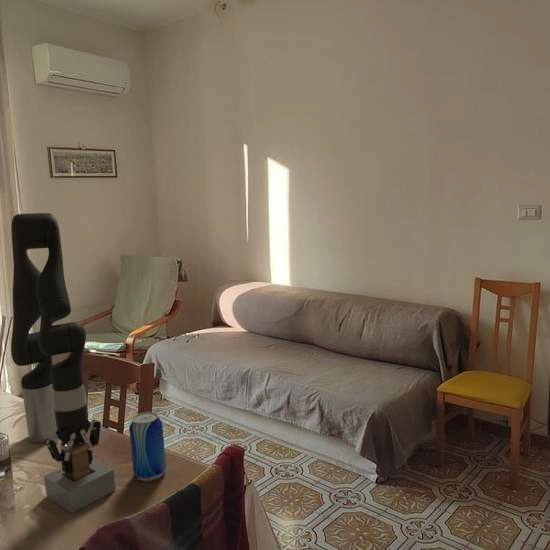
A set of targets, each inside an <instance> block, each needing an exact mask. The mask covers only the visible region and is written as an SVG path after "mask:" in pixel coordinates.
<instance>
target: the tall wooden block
mask: <svg viewBox="0 0 550 550" xmlns="http://www.w3.org/2000/svg"><path fill="white" fill-rule="evenodd" d="M60 445H61V443H59V446H60ZM88 449H90V445H89V444H87V443H84V442H78V443H76V444H75V445H73V447H72V450H71V452H70V456H69V459H70V463H71V471H72V473H71V474H67V478H68V479H70V480H71V481H73V482H75V481H77V480H79V479H82V478H84V477H86V476H88V475H90V467H89V460H88V452H87V450H88Z"/></svg>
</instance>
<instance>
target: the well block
mask: <svg viewBox="0 0 550 550" xmlns="http://www.w3.org/2000/svg"><path fill="white" fill-rule="evenodd" d="M89 467H90V475H88V476H86V477H84V478H82V479H79V480H77V481H75V482H73V481H71V480H70V479H68V478H67V473H65V472H64V471H63V470H62V467H60V468H58V469H55V470H53V471H51V472H50V473H47V474H45V475H44V476H43V478H44V479H43V480H44V485H45V494H46V497H47V498H48V499H50V500H51V501H53V503H56V504H57V505H59V506H60V507H61V508H63V509H64V510H66V511H67V512H69V513H70V514H73V513H75V512H77V511H78V510H81V509H83V508H84V507H86V506H88V505H90V504H92V503H94V502H96V501H98V500H99V499H102V498H104V497H105V496H107V495H109V494H112V493H113V492H114V491H116V482H115V473H114V469H113V468H111V467H109V466H107V465H105V464H103V463H101V462H100V461H98V460H96V459H94V458H93V460H92V461H91V464H90V465H89Z"/></svg>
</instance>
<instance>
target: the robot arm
mask: <svg viewBox="0 0 550 550" xmlns="http://www.w3.org/2000/svg"><path fill="white" fill-rule="evenodd" d="M10 228H11V230H10V231H11V244H12V245H11V246H12V258H13V259H12V260H13V275H12V278H13V279H12V316H13V321H12V332H11V339H10V340H11V341H10V354H11V358H12V359H11V360H12V361H13V363H14V364H15V365H16V366H19V367H25V366H29V365H34V364H37V365H36V366H35V367H34V368H33V369H31V370H30V371H29V372H27V373H25V374H24V375H23V376H22V377H21V378H20V379H21V380H20V384H21V390H22V391H21V392H22V397H23V404H24V405H23V406H24V412H25V420H26V426H27V435H28V441H29V442H30V443H34V444H39V443H42V444H43V443H45V445H46V447H47V449H48V452H49V453H50V456H51V458H52V459H53V460H55V461H56V462H58V463H59V462H61V468H62V470H63V471H64V472H65V473H67V474H71V473H72V471H71V463H70V459H69V456H70V452H71V450H72V447H73V445H75V444H76V443H78V442H84V443H87V444H89V445H90V449H88V450H87V452H88V460H89V465H90V464H91V461H92V460H93V459H94V458H93V447H95V446H98V445H99V444H100V443H99V441H100V434H101V425H102V422H101V421H99V420H97V419H95V418H94V419H92V420H91V421H90V420H89V409H88V402H87V401H88V400H87V398H88V397H87V393H86V389H85V386H84V376H83V356H84V351H85V345H86V339H87V334H86V329H85V327H84V326H83V325H82V324H81V323H80V322H78V321H77V322H76V321H73V322H67V323H60V324H54V323H56V322H58V321H61V320H62V319H65V318H66V317H68V316H69V315H70V314H71V312H72V308H71V307H72V306H71V302H70V297H69V294H68V290H67V289H68V288H67V285H66V280H65V272H64V259H63V250H62V240H61V234H60V233H61V232H60V227H59V223H58V220H57V218H56V216H55V215H54V214H53V213H48V212H44V213H43V212H40V213H39V212H37V213H35V212H33V213H30V212H29V213H18V214H15V215H14V216H13V217H12V220H11V227H10ZM34 249H35V250H37V249H48V255H47V260H46V263H45V264H44V267H43V269H42V270H41V271H40V270H39V269H38V267H37V266H36V265H35V264H34V263H33V262H32V260H31V259H30V256H29V255H28V250H34ZM39 319H40V324H39V325H40V326H39V331H35V332H30V331H31V328H32V327H33V326H34V325H35V324H36V322H38V321H39ZM53 324H54V325H53ZM67 353H68V354H69V355H68V357H66V358H65V359H63V360H62V361H61V360H60V361H58V362H56V363H55V364H53V357H54V356H57V355H58V356H59V355H64V354H67ZM89 429H90V431H89ZM88 432H90V433H89V436H88ZM58 440H59V441H60V444H61V445H60V444H59V443H58V442H59V441H58ZM58 444H59V446H60V447H59V448H60V450H59V448H58Z"/></svg>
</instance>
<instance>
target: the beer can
mask: <svg viewBox="0 0 550 550" xmlns="http://www.w3.org/2000/svg"><path fill="white" fill-rule="evenodd" d="M131 421H132V422H130V425H129V428H128V429H129V440H130V450H131V458H132V459H131V460H132V468H133V469H132V470H133V475H134V476H135V477H137V479H138V480H139V481H143V482H150V481H151V482H152V481H155V480H157V479H160V478H161V477H162V476H163V475H164V472H165V471H166V469H167V462H166V449H165V440H164V439H165V438H164V428H163V422H162V420H161V419H160V418H159V415H158V413H156V412H151V411H147V412H141V413H138V414H136V415H134V416H133V417H132V418H131Z"/></svg>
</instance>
